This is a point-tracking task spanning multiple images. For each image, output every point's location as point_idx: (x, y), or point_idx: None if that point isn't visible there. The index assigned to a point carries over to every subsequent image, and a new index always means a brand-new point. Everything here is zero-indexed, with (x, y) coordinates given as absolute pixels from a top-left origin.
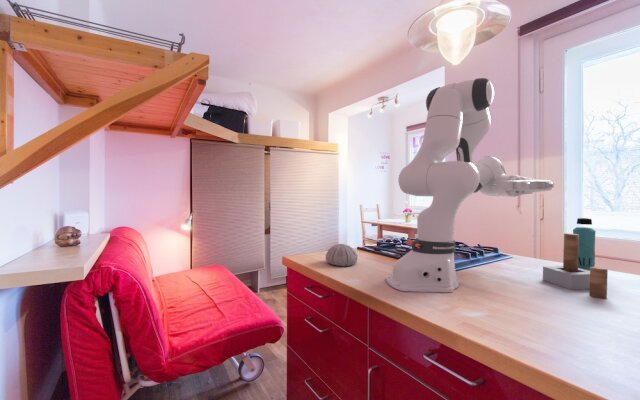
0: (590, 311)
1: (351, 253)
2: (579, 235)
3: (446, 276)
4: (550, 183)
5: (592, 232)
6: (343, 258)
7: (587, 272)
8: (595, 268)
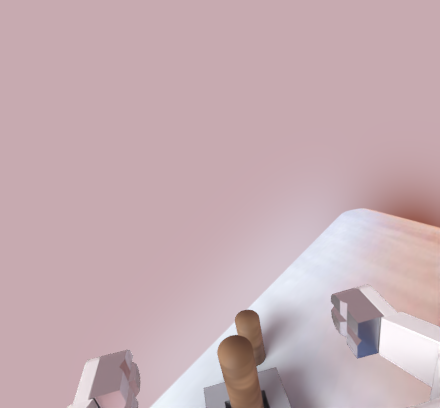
0: (305, 297)
1: None
2: None
3: None
4: (126, 350)
5: None
6: None
7: (225, 395)
8: (253, 317)
